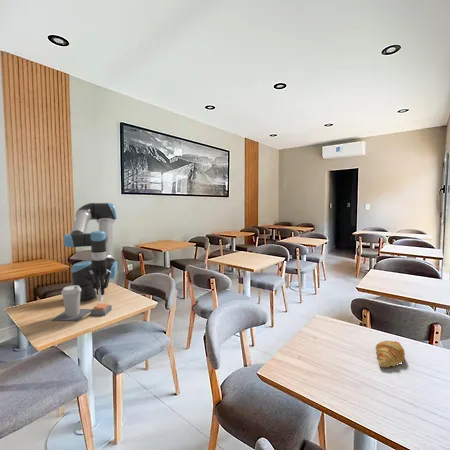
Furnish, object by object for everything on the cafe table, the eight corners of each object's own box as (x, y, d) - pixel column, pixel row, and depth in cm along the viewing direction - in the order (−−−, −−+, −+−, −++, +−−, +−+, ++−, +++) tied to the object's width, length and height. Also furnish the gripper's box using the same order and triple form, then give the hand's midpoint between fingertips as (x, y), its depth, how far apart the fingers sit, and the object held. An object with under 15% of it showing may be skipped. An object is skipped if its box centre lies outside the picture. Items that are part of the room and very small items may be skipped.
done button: (98, 307, 152) (98, 303, 152) (108, 307, 152) (108, 303, 151) (93, 311, 146) (93, 307, 146) (103, 312, 146) (103, 307, 146)
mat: (68, 309, 153) (68, 308, 153) (92, 310, 152) (92, 309, 152) (51, 320, 139) (51, 319, 139) (77, 321, 138) (77, 320, 138)
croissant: (389, 381, 98) (402, 368, 95) (364, 359, 104) (375, 346, 101) (403, 357, 113) (415, 345, 110) (380, 338, 119) (391, 326, 115)
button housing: (98, 309, 153) (97, 305, 153) (111, 309, 153) (111, 305, 153) (90, 315, 145) (90, 310, 145) (104, 315, 145) (104, 311, 145)
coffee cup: (76, 318, 141) (74, 290, 139) (58, 317, 141) (57, 290, 139) (86, 310, 150) (84, 285, 149) (69, 310, 150) (68, 284, 149)
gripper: (83, 260, 143) (85, 302, 145) (107, 260, 142) (109, 303, 144) (91, 257, 150) (92, 297, 152) (113, 257, 150) (115, 298, 152)
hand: (100, 300), depth 148 cm, fingers closed
